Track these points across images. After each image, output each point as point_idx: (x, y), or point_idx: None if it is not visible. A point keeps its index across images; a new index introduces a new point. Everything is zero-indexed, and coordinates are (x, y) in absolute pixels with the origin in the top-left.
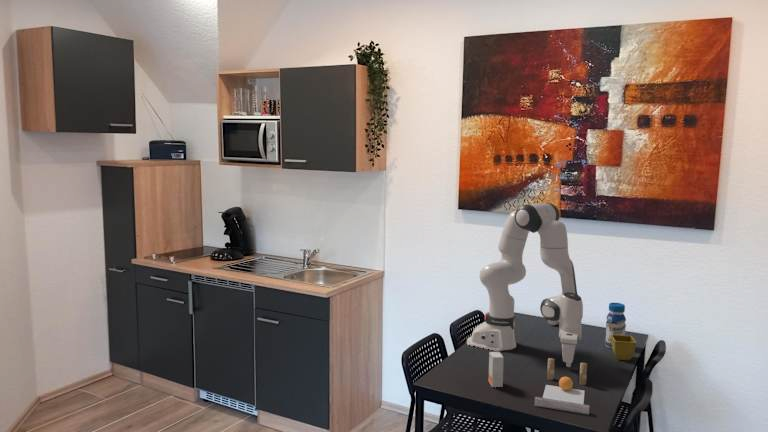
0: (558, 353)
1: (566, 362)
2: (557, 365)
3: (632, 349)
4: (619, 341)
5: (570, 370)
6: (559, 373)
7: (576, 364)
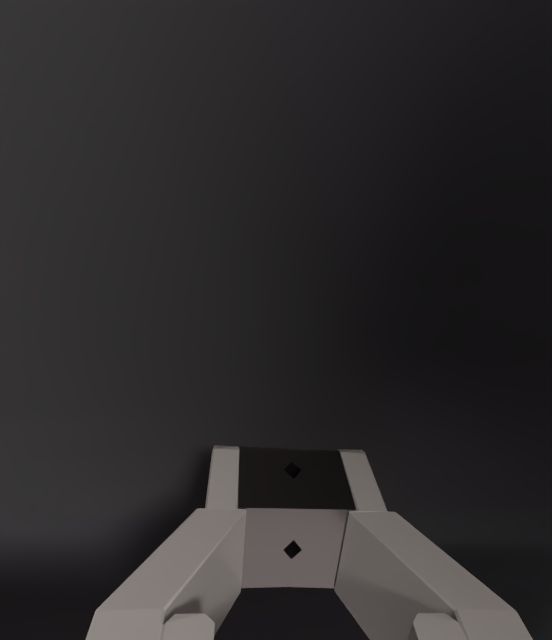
0: None
1: (193, 515)
2: (452, 243)
3: None
4: None
5: None
6: (15, 286)
7: (544, 517)
